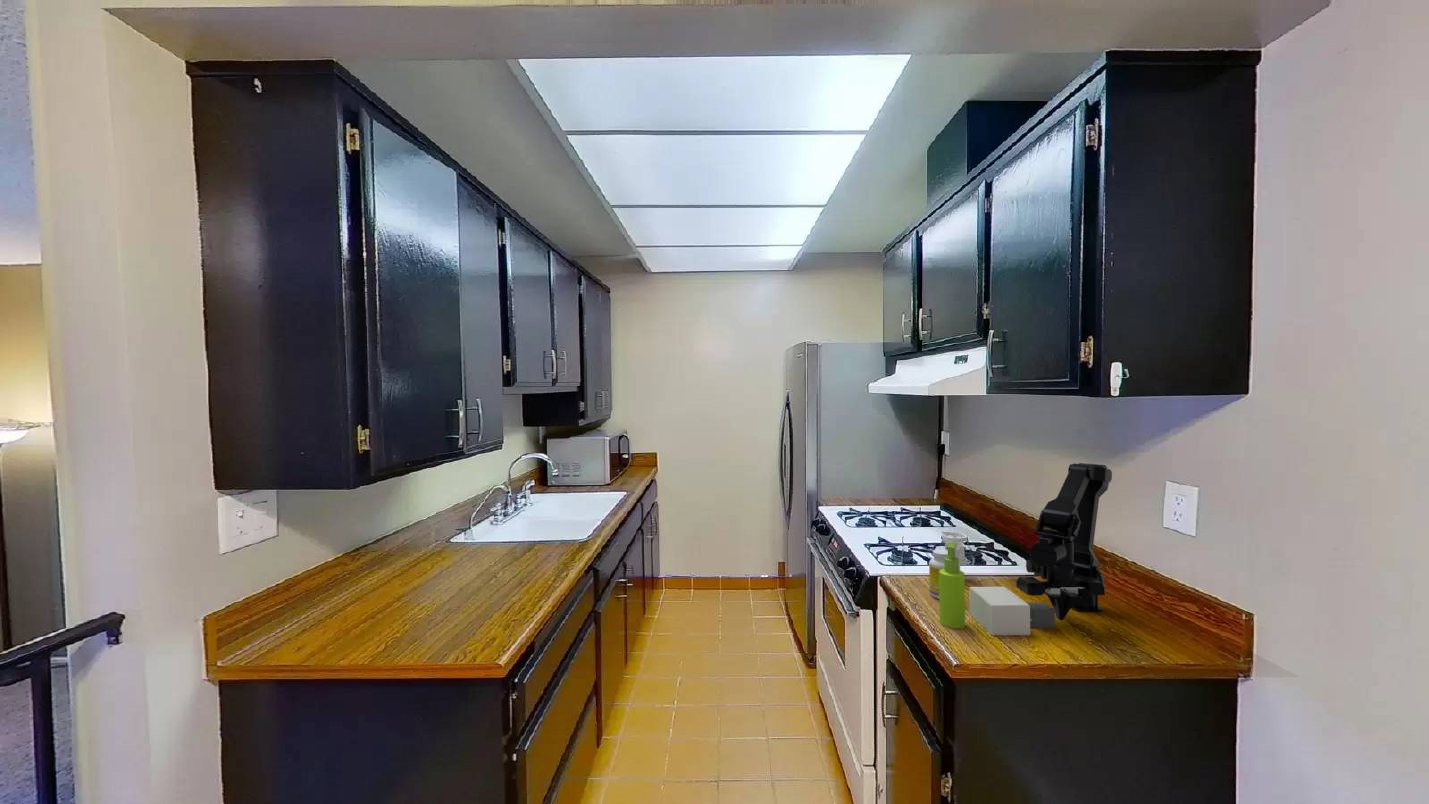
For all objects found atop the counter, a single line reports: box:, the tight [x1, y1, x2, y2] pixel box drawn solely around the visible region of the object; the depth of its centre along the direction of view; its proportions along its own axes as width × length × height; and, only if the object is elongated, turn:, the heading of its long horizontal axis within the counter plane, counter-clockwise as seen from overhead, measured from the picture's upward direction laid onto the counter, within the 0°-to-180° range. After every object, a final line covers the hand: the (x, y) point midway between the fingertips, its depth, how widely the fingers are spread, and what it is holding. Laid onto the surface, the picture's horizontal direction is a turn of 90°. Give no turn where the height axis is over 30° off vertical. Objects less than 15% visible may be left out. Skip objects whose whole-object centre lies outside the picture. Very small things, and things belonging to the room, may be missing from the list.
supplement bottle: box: [928, 548, 948, 600], centre depth 149 cm, size 7×7×13 cm
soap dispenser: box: [938, 542, 966, 629], centre depth 132 cm, size 6×7×20 cm
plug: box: [1026, 601, 1056, 629], centre depth 131 cm, size 6×5×5 cm
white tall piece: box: [941, 529, 968, 571], centre depth 162 cm, size 7×7×15 cm
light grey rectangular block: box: [968, 586, 1031, 636], centre depth 131 cm, size 9×12×7 cm
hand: (1060, 619), depth 130 cm, fingers closed
